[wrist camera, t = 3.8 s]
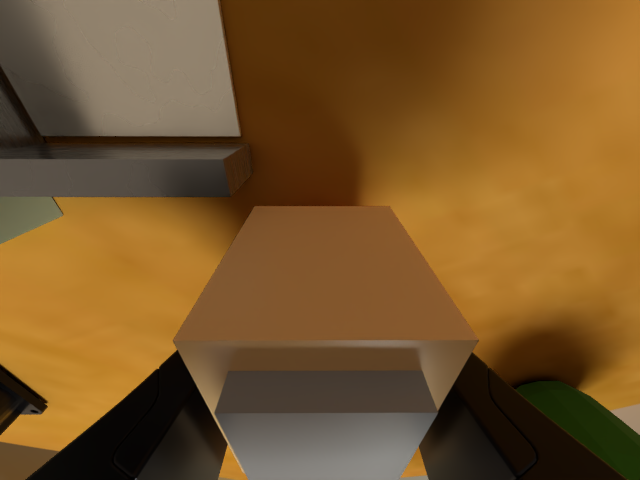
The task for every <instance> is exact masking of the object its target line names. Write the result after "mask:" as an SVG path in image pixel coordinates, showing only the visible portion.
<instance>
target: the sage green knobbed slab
mask: <svg viewBox="0 0 640 480" xmlns="http://www.w3.org/2000/svg"><path fill="white" fill-rule="evenodd" d="M61 216H63V214H62V212H61V211H60V209H59V208H58V206H57V205H56V203H55V201H54V200H53V198H52V197H0V244H1V243H4V242H6V241H8V240H10V239H12V238H15V237H17V236H19V235H21V234H23V233H26V232H28V231H30V230H32V229H35V228H37V227H39V226H41V225H43V224H46V223H48V222H50V221H52V220H54V219H57V218H59V217H61Z"/></svg>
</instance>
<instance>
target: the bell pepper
mask: <svg viewBox="0 0 640 480" xmlns="http://www.w3.org/2000/svg"><path fill="white" fill-rule="evenodd" d="M516 391H517V392H518V393H519V394H521V395H522V396H523V397H524V398H525V399H526V400H528V401H529V402H530V403H531V404H533V405H534V406H535V407H536V408H538V409H539V410H540V411H541V412H543V413H544V414H545V415H546V416H547V417H549V418H550V419H551V420H552V421H554V422H555V423H556V424H558V425H559V426H560V427H561V428H563V429H564V430H565V431H566V432H568V433H569V434H570V435H572V436H573V437H574V438H575V439H577V440H578V441H579V442H580V443H582V444H583V445H584V446H586V447H587V448H588V449H589V450H591V451H592V452H593V453H594V454H596V455H597V456H598V457H600V458H601V459H602V460H603V461H605V462H606V463H607V464H608V465H610V466H611V467H612V468H614V469H615V470H616V471H617V472H619V473H620V474H621V475H622V476H624V477H625V478H626V479H628V480H640V435H638V434H637V433H636V432H635V431H634V430H633V429H631V428H630V427H629V426H628V425H626V424H625V423H624V422H623V421H622V420H620V419H619V418H618V417H616V416H615V415H614V414H613V413H611V412H610V411H609V410H607V409H606V408H605V407H604V406H602V405H601V404H600V403H598V402H597V401H596V400H594V399H593V398H592V397H591V396H589V395H587V394H585V393H583V392H581V391H579V390H577V389H575V388H573V387H571V386H569V385H567V384H565V383H563V382H561V381H537V382H533V383H529V384H525V385H521V386H519V387H518V388H517V389H516Z"/></svg>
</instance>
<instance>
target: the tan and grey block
mask: <svg viewBox="0 0 640 480" xmlns="http://www.w3.org/2000/svg"><path fill="white" fill-rule="evenodd" d="M478 341H479V340H478V338H477V337H476V335H475V334H474V332H473V331H472V329H471V328H470V326H469V325H468V323H467V322H466V320H465V319H464V317H463V316H462V314H461V313H460V311H459V310H458V308H457V307H456V305H455V304H454V302H453V301H452V299H451V298H450V296H449V295H448V293H447V292H446V290H445V289H444V287H443V286H442V284H441V283H440V281H439V280H438V278H437V277H436V275H435V274H434V272H433V271H432V269H431V268H430V266H429V265H428V263H427V262H426V260H425V259H424V257H423V256H422V254H421V253H420V251H419V250H418V248H417V247H416V245H415V244H414V242H413V241H412V239H411V238H410V236H409V235H408V233H407V232H406V230H405V229H404V227H403V226H402V224H401V223H400V221H399V220H398V218H397V217H396V215H395V214H394V212H393V211H392V209H391V208H390V206H254V208H253V210H252V211H251V213H250V214H249V216H248V218H247V219H246V221H245V223H244V224H243V226H242V228H241V229H240V231H239V233H238V234H237V236H236V237H235V239H234V241H233V242H232V244H231V246H230V247H229V249H228V251H227V252H226V254H225V256H224V257H223V259H222V260H221V262H220V264H219V265H218V267H217V269H216V270H215V272H214V274H213V275H212V277H211V279H210V280H209V282H208V283H207V285H206V287H205V288H204V290H203V292H202V293H201V295H200V297H199V298H198V300H197V302H196V303H195V305H194V307H193V308H192V310H191V311H190V313H189V315H188V316H187V318H186V320H185V321H184V323H183V325H182V326H181V328H180V330H179V331H178V333H177V334H176V336H175V338H174V339H173V342H174V344H175V346H176V348H177V350H178V351H179V353H180V355H181V357H182V359H183V361H184V363H185V365H186V367H187V368H188V370H189V372H190V374H191V376H192V378H193V380H194V382H195V383H196V385H197V387H198V389H199V391H200V393H201V395H202V397H203V399H204V400H205V402H206V404H207V406H208V408H209V410H210V412H211V414H212V415H213V417H214V419H215V421H216V423H217V425H218V427H219V429H220V430H221V432H222V434H223V436H224V438H225V440H226V442H227V444H228V446H229V447H230V449H231V451H232V453H233V455H234V457H235V459H236V461H237V462H238V464H239V466H240V468H241V470H242V472H243V473H245V474H246V476H247V478H248V480H399V479H400V477H401V475H402V473H403V472H404V470H405V468H406V467H407V465H408V463H409V462H410V460H411V458H412V456H413V455H414V453H415V451H416V450H417V448H418V446H419V444H420V443H421V441H422V439H423V438H424V436H425V434H426V433H427V431H428V429H429V427H430V426H431V424H432V422H433V421H434V419H435V417H436V416H437V414H438V410H439V408H440V406H441V404H442V403H443V401H444V399H445V398H446V396H447V394H448V392H449V391H450V389H451V387H452V385H453V384H454V382H455V380H456V379H457V377H458V375H459V373H460V372H461V370H462V368H463V366H464V365H465V363H466V361H467V360H468V358H469V356H470V354H471V353H472V351H473V349H474V348H475V346H476V344H477V342H478Z"/></svg>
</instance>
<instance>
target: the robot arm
mask: <svg viewBox="0 0 640 480" xmlns="http://www.w3.org/2000/svg"><path fill="white" fill-rule="evenodd" d="M47 407H48V406H47V405H45V404H44V403H43V402H42V401H40V400H39V399H38V398H36V397H35V396H34V395H32V394H31V393H30V392H29V391H27V390H26V389H25V388H23V387H22V386H21V385H19V384H18V383H17V382H16V381H14V380H13V379H12V378H10V377H9V376H8V375H6V374H5V373H4V372H3V371H1V370H0V435H1V434H2V433H3V432H4V431H5V430H6V429H7V428H8V427H9V426H10V425H11V424H12V423H13V421H14V420H15V419H16V418H17V417H18V416H19V415H20V414H42V413H43V412H44V411H45V410H46V409H47ZM227 445H228V444H227V442H226V440H225V438H224V436H223V434H222V432H221V430H220V429H219V427H218V425H217V423H216V421H215V419H214V417H213V415H212V414H211V412H210V410H209V408H208V406H207V404H206V402H205V400H204V399H203V397H202V395H201V393H200V391H199V389H198V387H197V385H196V383H195V382H194V380H193V378H192V376H191V374H190V372H189V370H188V368H187V367H186V365H185V363H184V361H183V359H182V357H181V355H180V353H179V351H178V350H177V351H176V352H174V353H173V354H172V355H171V356H170V357H169V358H168V359H167V360H166V361H165V362H164V363H163V364H162V365H160V367H159V369H156V370H155V371H154V372H153V373H152V374H151V375H150V376H148V377H147V378H146V379H145V380H144V381H143V382H142V383H141V384H140V385H139V386H137V387H136V388H135V389H134V390H133V391H132V392H131V393H130V394H128V395H127V396H126V397H125V398H124V399H123V400H122V401H120V402H119V403H118V404H117V405H116V406H115V407H113V408H112V409H111V410H110V411H109V412H107V413H106V414H105V415H104V416H103V417H101V418H100V419H99V420H98V421H97V422H95V423H94V424H93V425H92V426H91V427H89V428H88V429H87V430H86V431H84V432H83V433H82V434H81V435H80V436H78V437H77V438H76V439H75V440H73V441H72V442H71V443H70V444H68V445H67V446H66V447H65V448H64V449H62V450H61V451H60V452H59V453H57V454H56V455H55V456H54V457H53V458H51V459H50V460H49V461H48V462H46V463H45V464H44V465H43V466H42V467H40V468H39V469H38V470H37V471H35V472H34V473H33V474H32V475H30V477H28V478H27V479H26V480H218V477H219V473H220V470H221V466H222V463H223V459H224V456H225V452H226V448H227ZM419 449H420V452H421V455H422V459H423V462H424V465H425V469H426V472H427V475H428V479H429V480H628V479H626V478H625V477H624V476H622V475H621V474H620V473H619V472H617V471H616V470H615V469H614V468H612V467H611V466H610V465H608V464H607V463H606V462H605V461H603V460H602V459H601V458H600V457H598V456H597V455H596V454H594V453H593V452H592V451H591V450H589V449H588V448H587V447H586V446H584V445H583V444H582V443H580V442H579V441H578V440H577V439H575V438H574V437H573V436H572V435H570V434H569V433H568V432H566V431H565V430H564V429H563V428H561V427H560V426H559V425H558V424H556V423H555V422H554V421H552V420H551V419H550V418H549V417H547V416H546V415H545V414H544V413H543V412H541V411H540V410H539V409H538V408H536V407H535V406H534V405H533V404H531V403H530V402H529V401H528V400H526V399H525V398H524V397H523V396H522V395H521V394H519V393H518V392H517V391H516V390H515V389H514V388H512V387H511V386H510V385H509V384H508V383H507V382H505V381H504V380H503V379H502V378H501V377H500V376H499V375H497V374H496V373H495V372H494V371H493V370H492V369H491V368H488V366H487V365H486V364H485V363H484V362H483V361H482V360H480V359H479V358H478V357H477V356H476V355H475V354H474V353H473V352H472V353H471V354H470V356H469V358H468V360H467V361H466V363H465V365H464V366H463V368H462V370H461V372H460V373H459V375H458V377H457V379H456V380H455V382H454V384H453V385H452V387H451V389H450V391H449V392H448V394H447V396H446V398H445V399H444V401H443V403H442V404H441V406H440V408H439V410H438V414H437V416H436V417H435V419H434V421H433V422H432V424H431V426H430V427H429V429H428V431H427V433H426V434H425V436H424V438H423V439H422V441H421V443H420V444H419Z"/></svg>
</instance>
